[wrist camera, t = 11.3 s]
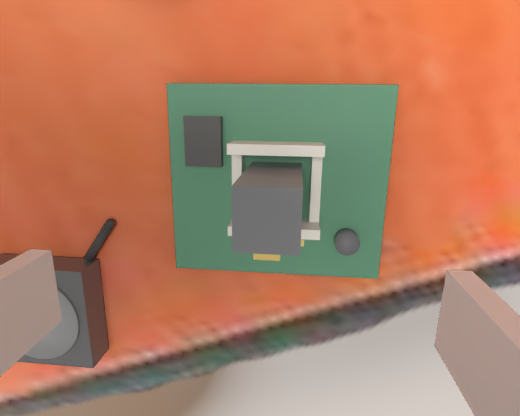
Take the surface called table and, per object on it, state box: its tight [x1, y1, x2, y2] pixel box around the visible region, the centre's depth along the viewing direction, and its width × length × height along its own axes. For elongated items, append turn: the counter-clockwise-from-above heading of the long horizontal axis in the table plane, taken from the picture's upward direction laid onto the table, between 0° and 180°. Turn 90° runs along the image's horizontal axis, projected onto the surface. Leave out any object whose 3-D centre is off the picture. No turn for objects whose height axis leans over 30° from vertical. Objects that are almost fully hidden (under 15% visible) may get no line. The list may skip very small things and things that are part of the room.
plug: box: [232, 161, 303, 261], centre depth 26 cm, size 5×4×10 cm
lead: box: [84, 219, 115, 262], centre depth 34 cm, size 5×1×1 cm, turn 144°
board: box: [167, 83, 399, 279], centre depth 29 cm, size 16×18×4 cm
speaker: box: [0, 253, 109, 368], centre depth 35 cm, size 10×10×4 cm
